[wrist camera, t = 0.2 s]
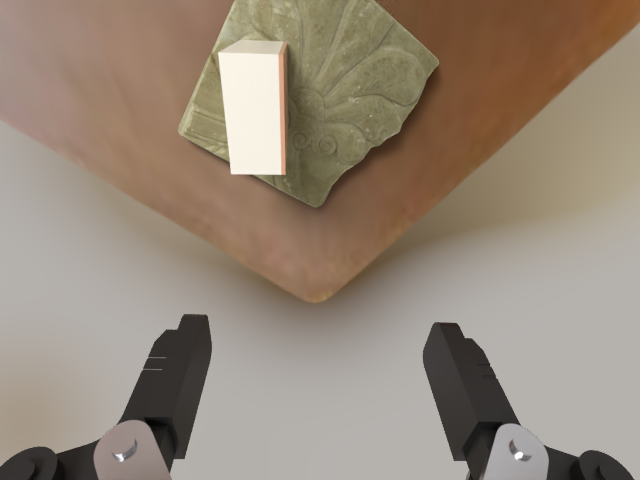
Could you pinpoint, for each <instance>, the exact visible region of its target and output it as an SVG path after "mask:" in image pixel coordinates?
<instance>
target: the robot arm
mask: <svg viewBox="0 0 640 480" xmlns="http://www.w3.org/2000/svg"><path fill="white" fill-rule="evenodd" d="M211 352H212V342H211V335H210V328H209V322H208V316H207V315H198V314H196V315H195V314H184V316H183V317H182V319H181V321H180V324H179V327H178V329H177V330H166V331H165V332H164V333H163V334H162V335H161V336H160V337H159V338H158V339H157V340H156V341H155V342H154V345H153V347H152V349H151V352H150V354H149V356H148V359H147V361H146V363H145V365H144V368H143V371H142V372H141V374H140V377H139V379H138V381H137V383H136V386H135V388H134V390H133V393H132V395H131V397H130V400H129V402H128V404H127V406H126V409H125V411H124V413H123V415H122V417H121V419H120V421H119V422H118V424H117V425H116V426H114V427H113V428H111V429H110V430H109V431H107V432H106V433H105V435H103V437H102V438H100V439H99V440H97V441H95V442H93V443H90V444H87V445H84V446H81V447H77V448H74V449H71V450H68V451H64V452H61V453H58V454H55V453H54V452H53V451H52V450H51V449H49V448H46V447H33V448H29V449H26V450H24V451H21V452H20V453H18V454H16V455H14V456H13V457H11V458H10V459H9V460H7V461H6V462H5V463H4V464H3V465H2V466H1V467H0V480H172V479H171V476H170V471H171V467H172V464H173V460H174V459H185V455H186V451H187V447H188V443H189V440H190V436H191V432H192V428H193V424H194V421H195V417H196V413H197V409H198V405H199V402H200V397H201V394H202V390H203V386H204V383H205V379H206V375H207V371H208V367H209V364H210V359H211ZM423 363H424V368H425V371H426V374H427V377H428V380H429V383H430V386H431V390H432V393H433V396H434V399H435V402H436V405H437V408H438V412H439V415H440V418H441V421H442V424H443V427H444V431H445V434H446V437H447V440H448V443H449V446H450V449H451V452H452V456H453V459H454V461H467V464H468V467H469V472H468V474H467V477H466V480H634V479H633V477H632V476H631V474H630V473H629V472H628V471H627V470H626V469H625V467H623V466H622V465H621V464H620V463H619V462H618V461H617V460H615V459H614V458H612V457H611V456H609V455H607V454H605V453H602V452H599V451H593V450H589V451H586V452H584V453H583V454H582V455H581V456H580V457H576V456H573V455H570V454H567V453H564V452H561V451H558V450H555V449H552V448H549V447H547V446H545V445H543V444H542V442H541V441H540V440H539V439H538V438H537V437H536V436H535V435H534V434H533V433H532V432H531V431H529V430H528V429H526V428H524V427H522V426H521V425H520V423H519V421H518V419H517V417H516V416H515V413H514V411H513V409H512V407H511V406H510V403H509V401H508V399H507V397H506V395H505V393H504V391H503V389H502V387H501V385H500V383H499V381H498V379H496V375H495V373H494V371H493V369H492V367H490V363H489V361H488V359H487V358H486V355H485V353H484V351H483V350H482V349H481V348H480V347H479V346H478V345H477V344H476V343H475V341H474V340H473V339H470V338H464V336H463V333H462V331H461V329H460V327H459V325H458V324H457V323H439V322H436V323H434V324H433V326H432V328H431V331H430V334H429V336H428V339H427V342H426V344H425V347H424V350H423Z"/></svg>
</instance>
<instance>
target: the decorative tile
mask: <svg viewBox="0 0 640 480" xmlns="http://www.w3.org/2000/svg"><path fill="white" fill-rule="evenodd" d="M239 40H256V41H284V42H287V61H288V148H287V162H286V175H263V174H252V175H254V176H256V177H257V178H259V179H261V180H262V181H264V182H266V183H268V184H270V185H271V186H273V187H275V188H277V189H279V190H281V191H282V192H284V193H286V194H288V195H290V196H292V197H294V198H296V199H298V200H300V201H302V202H304V203H306V204H308V205H310V206H312V207H315V208H316V207H318V206H321V205H322V204H323V203H324V202H325V200H326V197H327V196H328V194H329V192H330V189H331V187H332V185H333V184H334V183H335V182H336V181H337V180H338V178H339V177H340V176H341V175H342V174H343V173H344V172H345V171H346V170H347V169H350V168H351V167H353V166H354V165H355V164H357V163H359V162H361V161H362V160H363V159H364V157H365V155H366V154H367V153H368V151H369V150H370V148H371V147H375V146H379V145H381V144H382V143H383V141H385V140H386V139H387V138H390V137H391V136H393V135H395V134H397V133H398V132H400V129H401V126H402V124H403V122H404V121H405V119H406V118H407V116H408V114H409V113H410V112H411V110H412V109H413V108H414V106H415V105H416V104H417V102H418V100H419V98H420V96H421V93H422V91H423V89H424V87H425V83H426V80H427V79H428V77H429V76H430V74H431V73H432V72H433V70H434V69H435V68H436V67H437V66H438V65H439V60H438V59H437V58H436V57H435V56H434V55H433V54H432V53H431V52H430V51H429V50H428V49H427V48H426V47H425V46H424V45H423V44H422V43H421V42H420V41H418V40H417V39H416V38H415V37H414V36H413V35H412V34H411V33H410V32H409V31H408V30H407V29H405V28H404V27H403V26H402V25H401V24H400V23H399V22H398V21H397V20H396V19H395V18H393V17H392V16H391V15H390V14H389V13H388V12H387V11H386V10H385V9H384V8H383V7H382V6H381V5H379V4H378V3H377V2H376V1H375V0H235V1H234V3H233V5H232V7H231V10H230V12H229V14H228V16H227V19H226V21H225V23H224V25H223V27H222V30H221V32H220V34H219V37H218V39H217V42H216V44H215V46H214V48H213V50H212V52H211V54H210V55H209V57H208V59H207V62H206V64H205V66H204V69H203V71H202V73H201V76H200V78H199V80H198V82H197V85H196V87H195V89H194V92H193V94H192V97H191V99H190V101H189V103H188V106H187V108H186V111H185V113H184V116H183V118H182V120H181V122H180V125H179V128H178V132H179V134H180V135H181V136H183V137H185V138H187V139H188V140H190V141H191V142H193V143H194V144H196V145H198V146H200V147H202V148H204V149H205V150H207V151H209V152H211V153H213V154H214V155H216V156H218V157H220V158H222V159H224V160H226V161H228V162H230V158H229V148H228V139H227V130H226V121H225V112H224V102H223V93H222V84H221V75H220V66H219V56H218V52H220V51H221V50H223V49H225V48H227V47H228V46H230V45H232V44H234V43H236V42H237V41H239Z"/></svg>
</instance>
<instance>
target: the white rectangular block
mask: <svg viewBox="0 0 640 480" xmlns="http://www.w3.org/2000/svg"><path fill="white" fill-rule="evenodd" d="M218 56H219V66H220V75H221V84H222V93H223V102H224V112H225V121H226V130H227V139H228V148H229V158H230V167H231V174H263V175H286V162H287V148H288V61H287V42H284V41H256V40H239V41H237V42H236V43H234V44H232V45H230V46H228V47H227V48H225V49H223V50H221V51H220V52H218Z"/></svg>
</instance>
